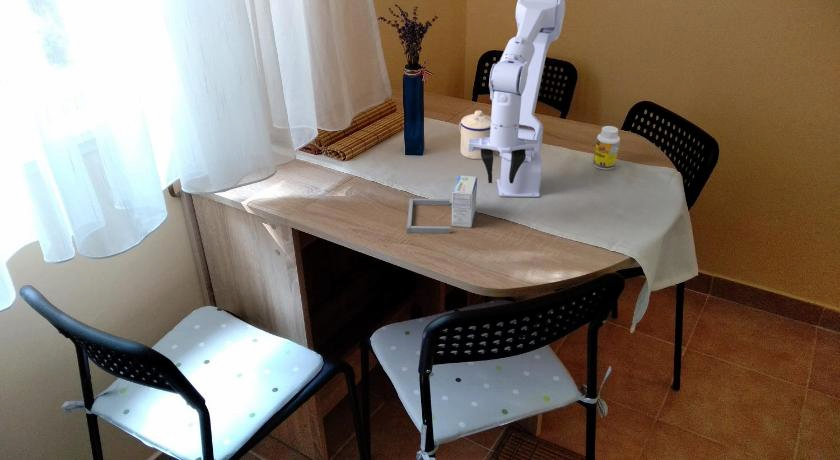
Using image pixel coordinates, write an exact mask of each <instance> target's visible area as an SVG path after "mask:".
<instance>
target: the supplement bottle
mask: <svg viewBox="0 0 840 460" xmlns="http://www.w3.org/2000/svg"><path fill="white" fill-rule="evenodd" d="M618 134H619V128H618V127H616V126H613V125H605V126H603V127H602V128H601V131H600V133H599V134H598V135H597V136H596V137H597V138H596V141H595V142H596V143H595V149H594V153H593V160H592V164H593V166H594V167H595V168H597V169H598V170H602V171H607V170H608V171H609V170H612V169H614V168H615V167H616V163H617V157H618V153H619V148H620V142H621V137H620V136H619V135H618Z"/></svg>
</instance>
